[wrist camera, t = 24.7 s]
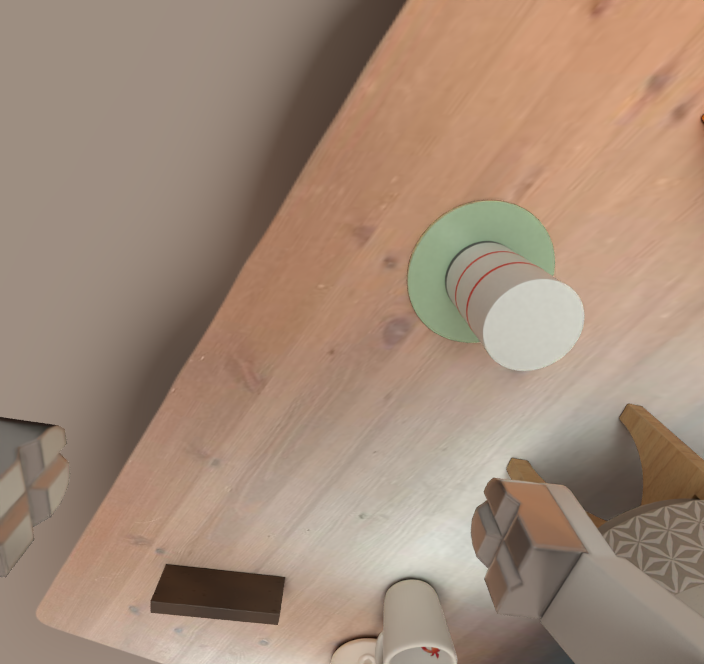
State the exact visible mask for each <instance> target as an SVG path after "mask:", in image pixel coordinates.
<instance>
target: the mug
mask: <svg viewBox="0 0 704 664" xmlns="http://www.w3.org/2000/svg"><path fill="white" fill-rule="evenodd" d="M376 642H377V639H372V638H363V639H356V640H353V641H350V642H347V643H345V644H344V645H342V646H341V647H339V648H338V649H337V650H336V652H335V653H334V654H333V656H332V659H331V664H376V663H375V647H376Z"/></svg>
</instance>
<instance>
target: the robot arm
mask: <svg viewBox="0 0 704 664" xmlns="http://www.w3.org/2000/svg"><path fill="white" fill-rule="evenodd" d="M66 444H67V441H66V435H65V429H64V428H62V427H60V426H58V425H52V424H45V423H38V422H31V421H24V420H17V419H10V418H3V417H0V577H6V576H7V575H8V574H9V572H10V571H11V570H12V568H13V567H14V566H15V564H16V563H17V562H18V560H19V559H20V558H21V556H22V555H23V554H24V552H25V551H26V550H27V548H28V547H29V546H30V545H31V543H32V542H33V541H34V534H33V527H34V526H36V525H38V524H39V523H41V522H43V521H45V520H46V519H48V518H50V517H51V516H52V515H53V514H54V512H55V511H56V509H57V508H58V506H59V505H60V504H61V502H62V500H63V497H64V495H65V493H66V490H67V488H68V485H69V478H70V466H69V462H68V461H67V460H66V459H65V458H64V457H63V456H62V455H61V454H60V453H59V452H60V451H61V450H62V449H63V448H64V447H65V445H66ZM484 494H485V496H486V499H487V501H485V502H484V503H482V504H481V505H480V506H478V507H477V508H476V510H475V513H474V515H473V518H472V524H471V537H472V544H473V547H474V550H475V553H476V556H477V558H478V559H479V560H480V561H481V562H482V563H483V564H484V565H485V566H486V567H487V568H488V570H487V573H486V575H485V578H484V579H485V582H486V585H487V587H488V590H489V593H490V596H491V599H492V601H493V604H494V607H495V610H496V612H497V614H499V615H509V616H518V617H527V618H537V619H541V620H540V622H541V623H542V625H543V626H544V627H545V628H546V629H547V631H548V632H549V633H550V634H551V635H552V637H553V638H554V639H555V640H556V641H557V643H558V644H559V645H560V646H561V647H562V649H563V650H564V651H565V652H566V653H567V655H568V656H569V657H570V658H571V659H572V660H573V662H574V663H575V664H704V618H703V617H702V616H701V615H699V614H698V613H697V612H695V611H694V610H693V609H691V608H690V607H689V606H688V605H686V604H685V603H684V602H682V601H681V600H680V599H678V598H677V597H676V596H674V595H673V594H672V593H670V592H669V591H668V590H666V589H665V588H664V587H662V586H661V585H660V584H659V583H657V582H656V581H655V580H653V579H652V578H651V577H649V576H648V575H647V574H645V573H644V572H643V571H641V570H640V569H639V568H637V567H636V566H635V565H633V564H632V563H631V562H629V561H628V560H627V559H626V558H623V557H617V556H616V555H615V553H614V552H613V551H612V549H611V548H610V546H609V545H608V543H607V542H606V540H605V539H604V538H603V536H602V535H601V533H600V532H599V530H598V529H597V528H596V526H595V525H594V523H593V522H592V520H591V519H590V517H589V516H588V515H587V513H586V512H585V510H584V509H583V507H582V506H581V505H580V503H579V502H578V500H577V499H576V497H575V496H574V494H573V493H572V492H571V490H570V489H568V488H567V487H565V486H564V485H559V484H549V483H536V482H527V481H518V480H509V479H500V478H492V479H491V480H490V481H489V482H488V483H487V486H486V488H485V490H484Z"/></svg>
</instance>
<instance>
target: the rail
mask: <svg viewBox="0 0 704 664" xmlns="http://www.w3.org/2000/svg"><path fill="white" fill-rule="evenodd" d="M284 581H285V577H277V576H268V575H258V574H249V573H240V572H231V571H222V570H212V569H203V568H194V567H185V566H176V565H166V566H165V568H164V571H163V573H162V575H161V578H160V580H159V582H158V585H157V587H156V590H155V592H154V594H153V597H152V599H151V613H159V614H170V615H180V616H190V617H201V618H211V619H221V620H232V621H242V622H252V623H262V624H273V625H278V622H279V617H280V610H281V603H282V596H283V588H284Z"/></svg>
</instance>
